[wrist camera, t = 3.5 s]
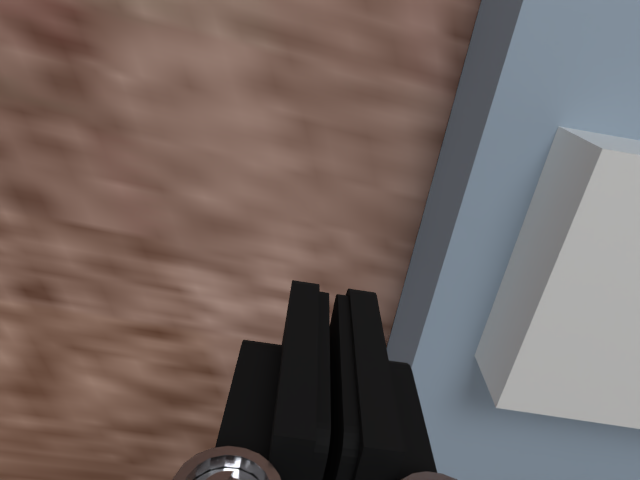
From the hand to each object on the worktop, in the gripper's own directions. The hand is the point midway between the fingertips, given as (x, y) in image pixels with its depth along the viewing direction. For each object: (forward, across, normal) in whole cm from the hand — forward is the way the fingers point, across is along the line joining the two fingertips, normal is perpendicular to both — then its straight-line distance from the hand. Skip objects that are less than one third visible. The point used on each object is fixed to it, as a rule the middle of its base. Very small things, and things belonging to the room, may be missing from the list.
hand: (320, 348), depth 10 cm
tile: (+6, -10, 0) cm, 11 cm away
